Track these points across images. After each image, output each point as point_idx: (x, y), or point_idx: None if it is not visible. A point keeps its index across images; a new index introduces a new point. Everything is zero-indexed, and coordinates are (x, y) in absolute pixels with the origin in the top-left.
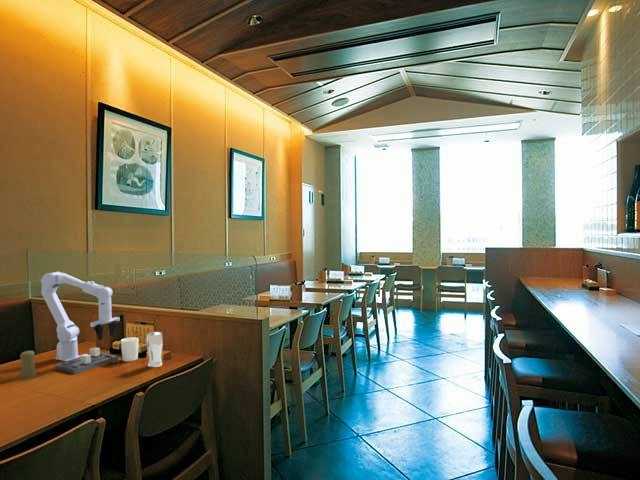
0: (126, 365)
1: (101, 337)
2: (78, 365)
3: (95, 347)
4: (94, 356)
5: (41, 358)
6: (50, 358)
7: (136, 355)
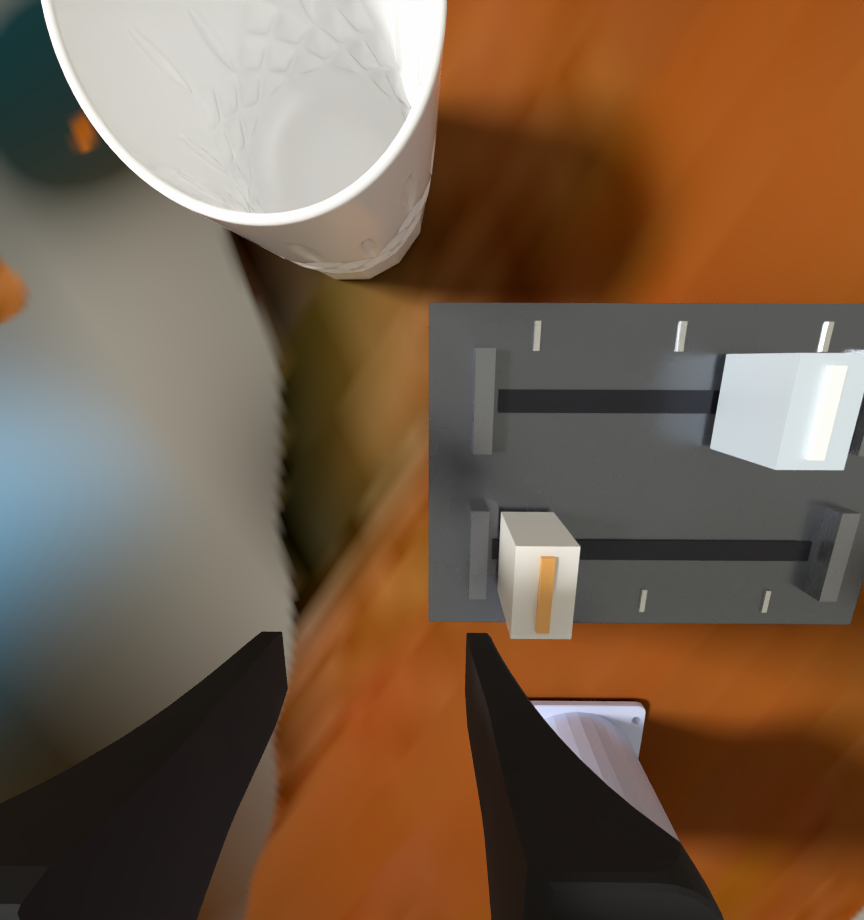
0: (515, 14)
1: (490, 653)
2: None
3: (517, 616)
4: None
5: None
6: None
7: (304, 74)
